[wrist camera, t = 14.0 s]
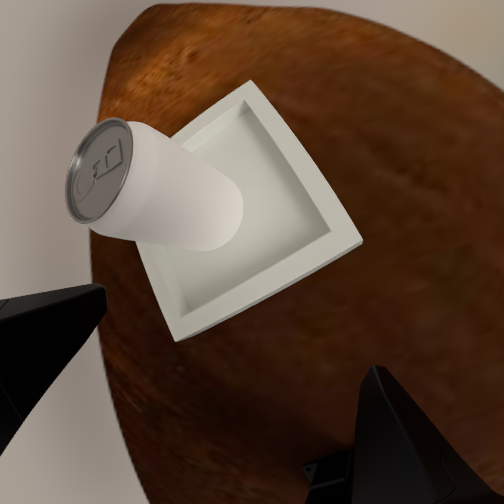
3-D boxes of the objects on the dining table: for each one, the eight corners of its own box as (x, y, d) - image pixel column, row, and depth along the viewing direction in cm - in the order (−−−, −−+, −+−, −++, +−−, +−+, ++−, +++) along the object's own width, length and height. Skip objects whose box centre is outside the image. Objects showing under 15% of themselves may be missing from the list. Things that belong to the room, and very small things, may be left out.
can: (170, 196, 25) (60, 155, 14) (231, 161, 23) (132, 87, 12) (189, 263, 24) (65, 253, 12) (257, 232, 22) (149, 190, 10)
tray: (362, 243, 19) (362, 239, 17) (191, 336, 24) (175, 341, 22) (260, 94, 23) (250, 79, 21) (135, 190, 28) (118, 185, 25)
